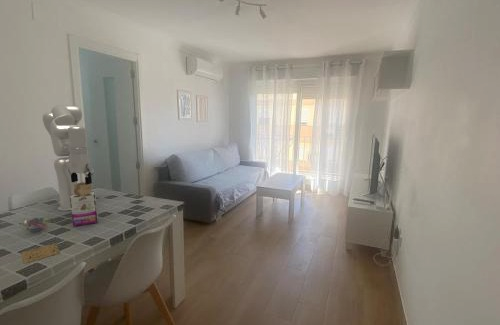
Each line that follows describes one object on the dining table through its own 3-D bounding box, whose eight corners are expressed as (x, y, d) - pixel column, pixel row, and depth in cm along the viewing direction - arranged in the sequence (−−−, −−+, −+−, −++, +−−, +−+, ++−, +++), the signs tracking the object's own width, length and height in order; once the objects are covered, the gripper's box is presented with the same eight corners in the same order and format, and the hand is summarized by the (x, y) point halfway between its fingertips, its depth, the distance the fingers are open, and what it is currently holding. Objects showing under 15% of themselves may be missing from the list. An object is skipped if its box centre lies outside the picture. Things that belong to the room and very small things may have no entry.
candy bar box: (98, 219, 142) (95, 191, 139) (97, 223, 138) (95, 193, 135) (74, 223, 137) (70, 193, 134) (72, 226, 133) (69, 196, 130)
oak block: (74, 194, 133) (73, 184, 132) (84, 191, 138) (83, 182, 137) (82, 195, 131) (81, 185, 130) (91, 193, 137) (90, 183, 136)
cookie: (20, 253, 107) (20, 251, 107) (56, 244, 116) (55, 242, 116) (23, 265, 99) (22, 263, 99) (61, 254, 108) (61, 252, 107)
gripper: (59, 150, 130) (62, 182, 133) (84, 153, 125) (87, 186, 128) (73, 148, 137) (76, 179, 140) (98, 151, 132) (100, 183, 135)
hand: (81, 182), depth 134 cm, fingers open, 9 cm apart
